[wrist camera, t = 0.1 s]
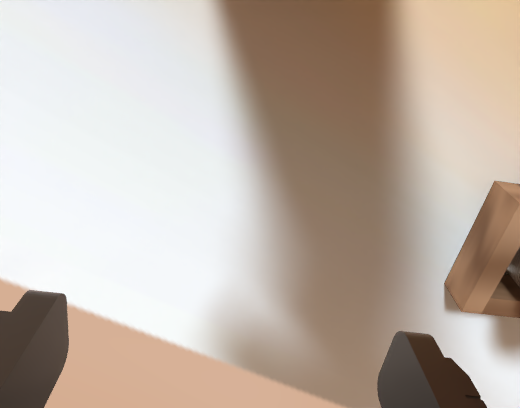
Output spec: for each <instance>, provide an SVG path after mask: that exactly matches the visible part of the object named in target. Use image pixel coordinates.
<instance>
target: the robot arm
mask: <svg viewBox="0 0 520 408" xmlns="http://www.w3.org/2000/svg"><path fill="white" fill-rule="evenodd" d="M68 345H69V338H68V320H67V300H66V296H65V294H62V293H53V292H43V291H34V290H29V291H27V292H26V293H25V294H24V295H23V297H22V298H21V300H20V301H19V302H18V304H17V305H16V306H15V308H14V309H13V310H12V312H8V311H0V408H44V406H45V404H46V402H47V400H48V398H49V396H50V394H51V392H52V390H53V388H54V386H55V384H56V382H57V380H58V378H59V375H60V374H61V372H62V370H63V367H64V364H65V361H66V358H67V353H68ZM378 397H379V401H380V404H381V407H382V408H487V407H486V405H485V403H484V401H483V400H481V399H480V397H481V396H480V395H479V393H478V391H477V389H476V388H475V386H474V384H473V383H472V381H471V379H470V377H469V376H468V375H467V374H466V373H465V372H464V371H463V370H462V369H461V368H460V367H459V366H458V365H457V364H456V363H455V362H454V361H453V360H452V359H451V358H444V356H443V354H442V352H441V351H440V349H439V347H438V345H437V343H436V341H435V340H434V338H433V337H432V336H431V335H429V334H422V333H413V332H404V331H399V332H397V333H396V334H395V336H394V338H393V341H392V343H391V346H390V348H389V351H388V353H387V356H386V358H385V361H384V363H383V365H382V368H381V370H380V373H379V377H378Z"/></svg>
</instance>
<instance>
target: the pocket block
mask: <svg viewBox="0 0 520 408" xmlns="http://www.w3.org/2000/svg"><path fill="white" fill-rule="evenodd" d="M519 247H520V184H514V183H507V182H499V181H495V182H494V184H493V186H492V188H491V190H490V192H489V194H488V196H487V198H486V200H485V202H484V204H483V206H482V208H481V210H480V212H479V214H478V216H477V218H476V220H475V222H474V224H473V226H472V228H471V230H470V232H469V235H468V237H467V239H466V241H465V243H464V245H463V247H462V249H461V251H460V253H459V255H458V257H457V259H456V261H455V263H454V265H453V267H452V269H451V271H450V273H449V275H448V277H447V279H446V281H445V283H444V284H445V285H446V287H447V289H448V290H449V292H450V294H451V295H452V297H453V299H454V300H455V302H456V304H457V305H458V307H459V309H460V310H461V312H469V313H479V314H488V315H498V316H507V317H517V318H520V287H519V286H518V285H517V283H516V282H515V281H514V280H513V279H512V277H511V276H510V275H505V274H504V273H505V271H506V270H507V268H508V266H509V264H510V263H511V261H512V259H513V258H514V256H515V254H516V252H517V251H518V249H519Z"/></svg>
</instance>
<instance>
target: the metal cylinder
mask: <svg viewBox="0 0 520 408" xmlns="http://www.w3.org/2000/svg"><path fill="white" fill-rule="evenodd" d="M506 271H507V272H508V274H509V275H510V276H511V277H512V279H513V280H514V281H515V282H516V283H517V285H518V286H519V287H520V247H519V249H518V251H517V252H516V254H515V256H514V258H513V259H512V261H511V263H510V264H509V266H508V268H507V270H506Z"/></svg>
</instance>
